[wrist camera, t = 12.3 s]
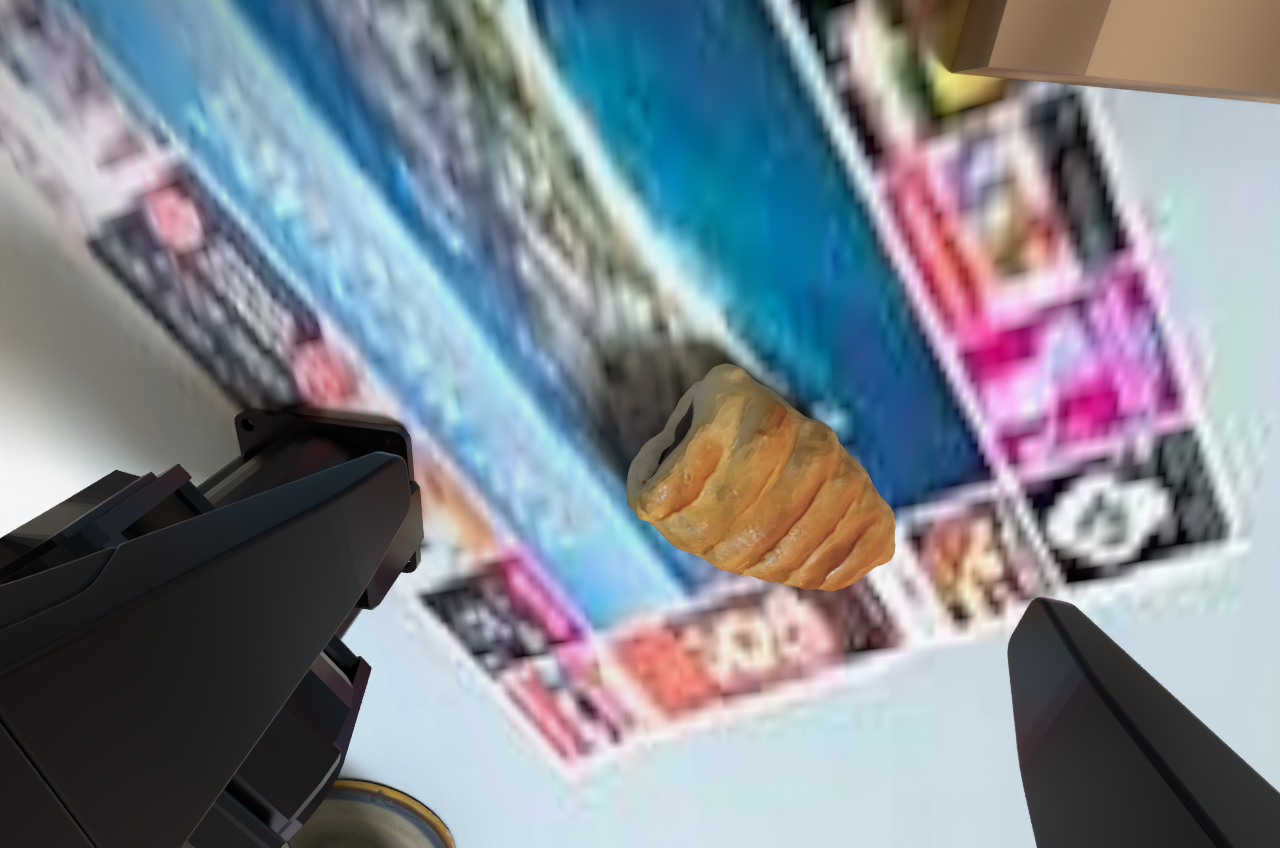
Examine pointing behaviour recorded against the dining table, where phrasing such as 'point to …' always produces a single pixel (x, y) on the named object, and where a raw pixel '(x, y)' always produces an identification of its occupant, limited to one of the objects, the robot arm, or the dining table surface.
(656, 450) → the pastry
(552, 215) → the dining table surface
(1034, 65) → the brown flat square frame
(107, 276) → the dining table surface
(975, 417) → the dining table surface
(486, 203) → the dining table surface
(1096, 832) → the robot arm
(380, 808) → the apothecary jar
